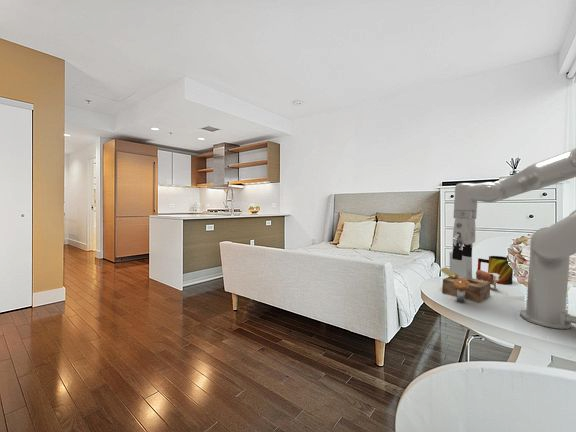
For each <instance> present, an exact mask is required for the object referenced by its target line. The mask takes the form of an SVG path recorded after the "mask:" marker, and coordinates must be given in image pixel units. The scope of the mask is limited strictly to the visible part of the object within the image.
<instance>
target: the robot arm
mask: <svg viewBox="0 0 576 432" xmlns="http://www.w3.org/2000/svg"><path fill="white" fill-rule="evenodd" d="M573 178H576V147H575V148H572V149H571V150H570V149H569V150H568V151H565V152H562V153H560V154H557V155H554V156H551V157H549V158H546V159H543V160H540V161H538V162H535V163H533V164H530V165H528V166H527V167H526V168H524V169H522V170H520V171H519V172H516V173H514V174H511V175H510V176H506V177H504V178H501V179H498V180H496V181H485V182H476V183H475V182H460V183H457V184H456V185H455V187H454V203H453V219H454V223H453V225H454V226H453V232H452V251H453V255H452V259H455V260H462V256H466V257H472V258H473V244H474V243H476V220H477V214H478V213H477V212H478V202H483V203H497V202H500V201H503V200H506V199H509V198H512V197H515V196H518V195H521V194H525V193H528V192H530V191H536V190H540V189H543V188H546V187H549V186H552V185H555V184H558V183H560V182H564V181H568V180H571V179H573ZM529 243H530V245H529V246H530V248H529V249H530V250H529V251H530V252H529V262H528V263H529V266H528V267H529V268H528V278H527V280H528V281H527V293H526V307H525V308H526V309H523V310H520V312H519V315H520V317H521V318H522V319H524V320H525V321H528V322H530V323H533V324H536V325H539V326H542V327H546V328H552V329H561V330H565V329H570V328H572V324H576V316H575V315H571V314H570V313H569V309H566V307H567V295H568V294H567V293H568V283H569V271H570V257H571V256H574V255H575V254H576V209H575V210H573V211H572V212H570V214H569V215H568V216H567V217H564V218H563V219H561V220H559V221H557V222H556V223H554V224H552V225H550V226H546V227H542V228H539V229H537V230H536V231H535V232H533V234H532V235H531V237H530V241H529Z"/></svg>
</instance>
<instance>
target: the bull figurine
mask: <svg viewBox="0 0 576 432" xmlns="http://www.w3.org/2000/svg"><path fill="white" fill-rule="evenodd" d="M499 277H502V275H499V274H496V273H488V271H484V270H482V269H480V270H476V272H475V279H478V280H482V281H487V282H491V284H490V286H493V289H494V290H495V291H498V289H497V284H496V282H497V281H499Z"/></svg>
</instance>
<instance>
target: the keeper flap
mask: <svg viewBox="0 0 576 432" xmlns="http://www.w3.org/2000/svg"><path fill="white" fill-rule="evenodd" d="M440 271H441V272H442V273H443V274H445V275H446V276H447V277H451V278H452V279H454V278H456V277H458V274H456V273H454V272H452V271H451V270H450V268H447V266H445V267H443V268H441V269H440Z"/></svg>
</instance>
